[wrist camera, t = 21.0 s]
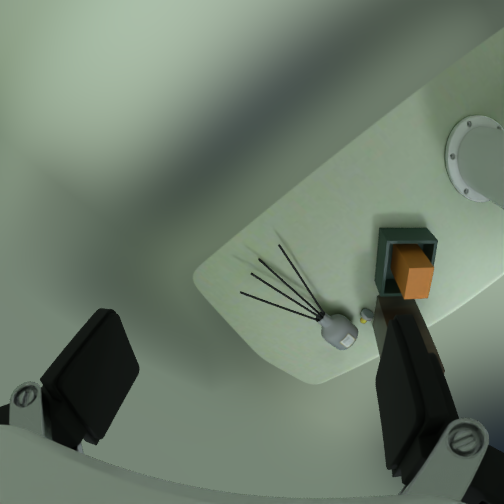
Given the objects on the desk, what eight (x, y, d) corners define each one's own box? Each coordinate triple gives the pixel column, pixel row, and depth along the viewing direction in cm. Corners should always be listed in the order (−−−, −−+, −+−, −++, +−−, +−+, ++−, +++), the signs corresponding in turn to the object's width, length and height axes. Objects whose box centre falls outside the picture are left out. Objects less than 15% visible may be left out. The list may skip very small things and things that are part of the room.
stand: (412, 294, 45) (445, 370, 30) (405, 323, 47) (431, 401, 32) (377, 295, 46) (400, 375, 31) (372, 325, 48) (389, 406, 33)
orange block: (415, 241, 41) (434, 267, 33) (411, 268, 42) (428, 298, 35) (393, 241, 41) (409, 268, 34) (390, 269, 43) (403, 299, 36)
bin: (426, 227, 40) (438, 240, 36) (419, 279, 43) (427, 294, 39) (379, 227, 41) (386, 240, 37) (374, 280, 45) (380, 296, 41)
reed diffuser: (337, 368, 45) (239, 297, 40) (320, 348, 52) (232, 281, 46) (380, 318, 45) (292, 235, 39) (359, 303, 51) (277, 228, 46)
